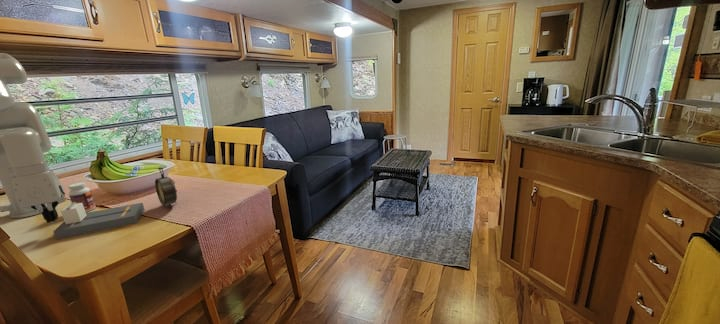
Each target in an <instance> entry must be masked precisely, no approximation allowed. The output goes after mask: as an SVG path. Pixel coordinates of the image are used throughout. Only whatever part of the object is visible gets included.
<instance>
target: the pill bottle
mask: <svg viewBox="0 0 720 324" xmlns="http://www.w3.org/2000/svg"><path fill="white" fill-rule="evenodd" d="M68 188H69V189H68V190H69V192H68V196H69V199H70V201H71V204H72V203H73V202H76V204H77V203H82V204H83V206H84V209H85V212H86V213H89V212H92V211H93V210H95V208H96V206H97V205H96V203H95V200H94V198H93V195H92V191H91V189H90V187H87V185H86V182H83V181H82V182H80V181H79V182H76V183H73V184H69V185H68Z"/></svg>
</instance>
